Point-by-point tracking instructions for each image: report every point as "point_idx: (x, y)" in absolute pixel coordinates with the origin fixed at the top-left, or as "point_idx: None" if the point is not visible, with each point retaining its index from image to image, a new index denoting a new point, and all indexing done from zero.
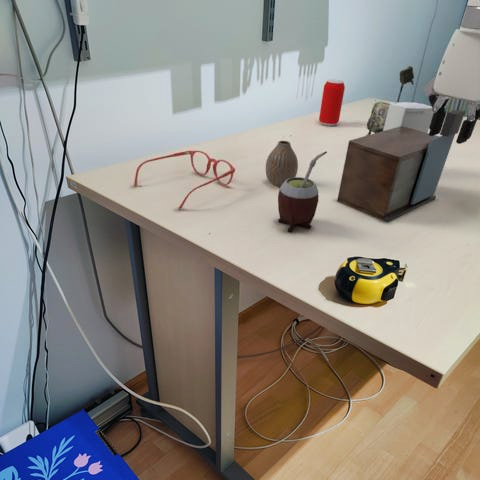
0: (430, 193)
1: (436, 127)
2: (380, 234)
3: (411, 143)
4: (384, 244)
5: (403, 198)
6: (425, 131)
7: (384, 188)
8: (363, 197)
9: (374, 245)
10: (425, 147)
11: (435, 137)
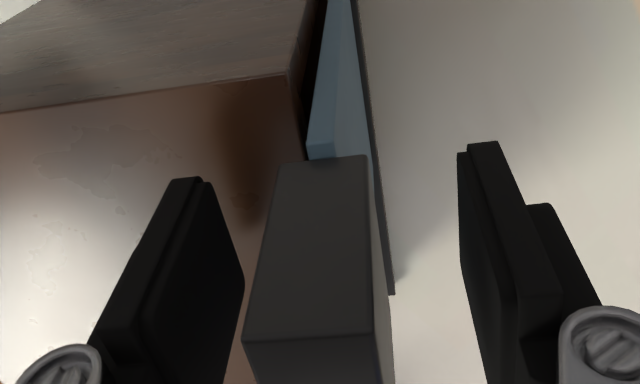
0: (353, 30)
1: (227, 310)
2: (432, 339)
3: (249, 377)
4: (476, 363)
5: None
6: None
7: None
8: None
9: (462, 381)
10: None
11: (190, 152)
